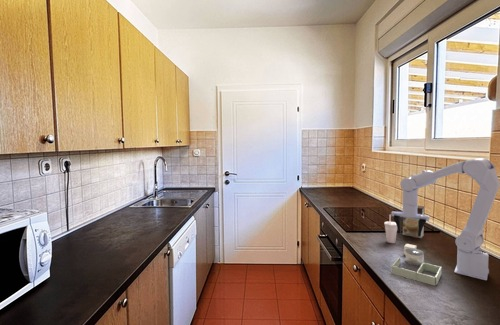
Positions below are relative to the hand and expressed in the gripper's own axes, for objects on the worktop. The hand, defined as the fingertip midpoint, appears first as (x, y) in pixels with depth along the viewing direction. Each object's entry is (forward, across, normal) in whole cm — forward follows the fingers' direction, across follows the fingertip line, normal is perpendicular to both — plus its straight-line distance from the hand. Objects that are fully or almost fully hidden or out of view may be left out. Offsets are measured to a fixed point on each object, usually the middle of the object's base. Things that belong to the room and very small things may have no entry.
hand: (409, 234), depth 122 cm
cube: (+10, 0, 0) cm, 10 cm away
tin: (+10, -3, +8) cm, 13 cm away
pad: (+9, -10, +19) cm, 23 cm away
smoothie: (+10, +10, -12) cm, 18 cm away
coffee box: (+10, +4, -30) cm, 31 cm away
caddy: (+9, -6, +19) cm, 22 cm away
